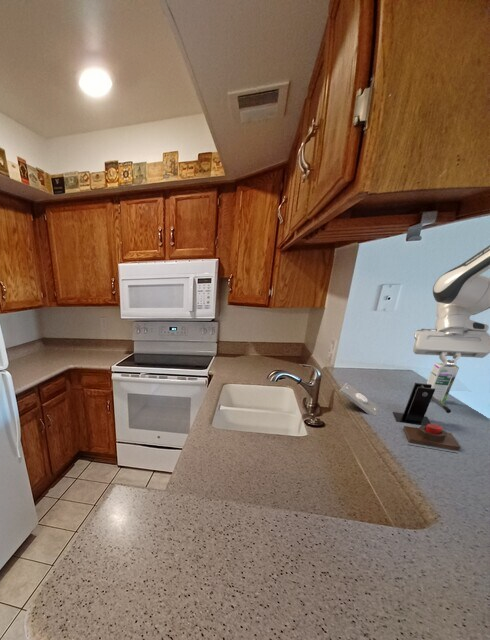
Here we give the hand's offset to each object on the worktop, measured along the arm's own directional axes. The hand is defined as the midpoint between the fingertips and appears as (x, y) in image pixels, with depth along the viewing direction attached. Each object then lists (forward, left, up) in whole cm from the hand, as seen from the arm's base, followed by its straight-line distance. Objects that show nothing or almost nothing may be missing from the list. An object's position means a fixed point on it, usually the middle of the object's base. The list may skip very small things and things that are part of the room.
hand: (449, 366), depth 108 cm
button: (+6, +25, -13) cm, 29 cm away
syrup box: (-3, -13, -17) cm, 22 cm away
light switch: (+24, +7, -17) cm, 30 cm away
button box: (+6, +25, -17) cm, 31 cm away
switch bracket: (+8, +11, -17) cm, 22 cm away
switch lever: (+5, +11, -9) cm, 15 cm away
